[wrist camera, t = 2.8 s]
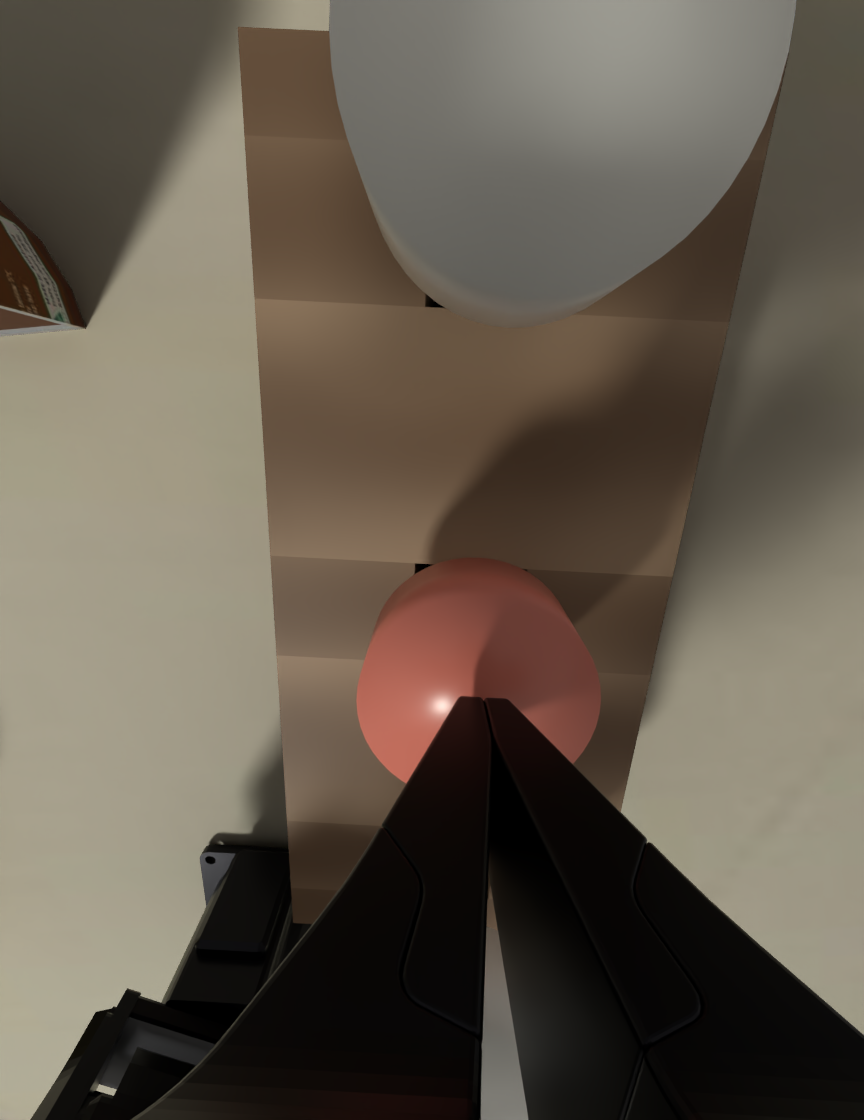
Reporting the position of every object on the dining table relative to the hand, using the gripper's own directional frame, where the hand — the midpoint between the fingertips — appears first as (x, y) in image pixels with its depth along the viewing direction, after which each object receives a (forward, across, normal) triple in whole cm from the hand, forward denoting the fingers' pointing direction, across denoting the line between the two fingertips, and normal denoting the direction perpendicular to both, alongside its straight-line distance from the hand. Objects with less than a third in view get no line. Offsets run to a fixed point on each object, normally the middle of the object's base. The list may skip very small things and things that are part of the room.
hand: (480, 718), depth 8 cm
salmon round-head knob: (+8, 0, 0) cm, 8 cm away
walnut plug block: (+10, 0, 0) cm, 10 cm away
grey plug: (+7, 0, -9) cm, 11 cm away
